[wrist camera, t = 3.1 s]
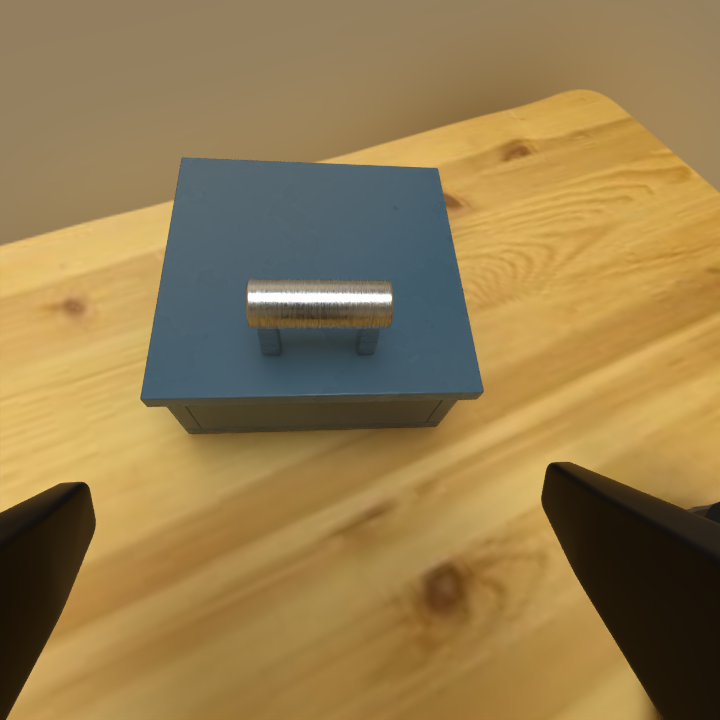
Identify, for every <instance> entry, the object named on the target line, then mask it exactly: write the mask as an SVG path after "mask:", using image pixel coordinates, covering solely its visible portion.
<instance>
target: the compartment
mask: <svg viewBox="0 0 720 720" xmlns="http://www.w3.org/2000/svg"><path fill="white" fill-rule="evenodd" d="M456 402H457V400H429V401H385V402H342V403H298V404H255V405H211V406H168V407H167V408H168V409H169V410H170V411H171V413H172V414H173V415H174V416H175V418H176V419H177V420H178V421H179V422H180V424H181V425H182V426H183V427H184V429H186V431H187V432H188V433H189V434H204V433H238V432H271V431H304V430H337V429H370V428H403V427H436V426H437V425H438V424H439V423H440V421H441V420H442V419H443V418H444V417H445V415H446V414H447V413H448V412H449V410H450V409H451V408H452V407H453V405H454V404H455V403H456Z"/></svg>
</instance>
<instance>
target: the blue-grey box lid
mask: <svg viewBox="0 0 720 720" xmlns="http://www.w3.org/2000/svg"><path fill="white" fill-rule="evenodd" d="M483 392H484V391H483V386H482V381H481V376H480V371H479V366H478V362H477V357H476V352H475V347H474V342H473V337H472V332H471V327H470V323H469V318H468V313H467V308H466V303H465V298H464V293H463V289H462V284H461V279H460V274H459V269H458V264H457V259H456V254H455V250H454V245H453V240H452V235H451V230H450V225H449V220H448V215H447V211H446V206H445V201H444V196H443V191H442V186H441V181H440V177H439V172H438V168H421V167H397V166H373V165H349V164H325V163H301V162H277V161H253V160H229V159H205V158H182V159H181V165H180V170H179V176H178V182H177V188H176V194H175V200H174V205H173V211H172V217H171V223H170V229H169V235H168V240H167V246H166V252H165V258H164V264H163V270H162V275H161V281H160V287H159V293H158V299H157V304H156V310H155V316H154V322H153V328H152V334H151V339H150V345H149V351H148V357H147V363H146V369H145V374H144V380H143V386H142V392H141V398H140V399H141V401H142V402H143V403H144V404H145V405H146V406H147V407H168V406H211V405H255V404H298V403H342V402H385V401H429V400H472V399H478V398H479V397H480V396H481V394H482V393H483Z"/></svg>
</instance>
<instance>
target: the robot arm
mask: <svg viewBox="0 0 720 720" xmlns="http://www.w3.org/2000/svg"><path fill="white" fill-rule="evenodd" d="M541 501H542V506H543V509H544V511H545V513H546V515H547V517H548V520H549V522H550V524H551V526H552V528H553V530H554V532H555V534H556V536H557V538H558V540H559V542H560V544H561V547H562V549H563V551H564V553H565V555H566V557H567V559H568V561H569V563H570V565H571V567H572V569H573V571H574V573H575V575H576V577H577V578H578V580H579V582H580V584H581V585H582V587H583V589H584V590H585V592H586V594H587V595H588V597H589V599H590V600H591V602H592V604H593V605H594V607H595V608H596V610H597V612H598V613H599V615H600V617H601V618H602V620H603V622H604V623H605V625H606V627H607V628H608V630H609V632H610V633H611V635H612V637H613V638H614V640H615V641H616V643H617V645H618V646H619V648H620V650H621V651H622V653H623V655H624V656H625V658H626V660H627V661H628V663H629V665H630V666H631V668H632V670H633V671H634V673H635V674H636V676H637V678H638V679H639V681H640V683H641V684H642V686H643V688H644V689H645V691H646V693H647V694H648V696H649V698H650V699H651V701H652V703H653V704H654V706H655V707H656V709H657V711H658V712H659V714H660V716H661V717H662V719H663V720H720V524H719V523H717V522H714V521H712V520H709V519H707V518H705V517H702V516H700V515H697V514H695V513H692V512H690V511H687V510H685V509H683V508H680V507H678V506H675V505H673V504H670V503H668V502H666V501H663V500H661V499H658V498H656V497H653V496H651V495H649V494H646V493H644V492H641V491H639V490H636V489H634V488H632V487H629V486H627V485H624V484H622V483H619V482H617V481H615V480H612V479H610V478H607V477H605V476H602V475H600V474H598V473H595V472H593V471H590V470H588V469H585V468H583V467H581V466H578V465H576V464H573V463H571V462H554V463H551V464H549V465H548V467H547V469H546V474H545V480H544V485H543V490H542V497H541ZM95 526H96V519H95V513H94V508H93V503H92V498H91V493H90V489H89V486H88V485H87V484H86V483H84V482H69V483H60V484H58V485H56V486H54V487H52V488H50V489H48V490H46V491H44V492H42V493H40V494H38V495H36V496H34V497H32V498H30V499H28V500H26V501H24V502H21V503H19V504H17V505H15V506H13V507H11V508H9V509H7V510H5V511H3V512H1V513H0V720H6V719H7V717H8V715H9V713H10V711H11V709H12V707H13V705H14V703H15V702H16V700H17V698H18V696H19V694H20V692H21V690H22V688H23V686H24V684H25V682H26V681H27V679H28V677H29V675H30V673H31V671H32V669H33V667H34V665H35V663H36V662H37V660H38V658H39V656H40V654H41V652H42V650H43V648H44V646H45V644H46V642H47V641H48V639H49V637H50V635H51V633H52V631H53V629H54V627H55V625H56V623H57V621H58V619H59V617H60V615H61V613H62V611H63V608H64V606H65V604H66V602H67V599H68V597H69V594H70V592H71V589H72V587H73V584H74V582H75V579H76V577H77V574H78V572H79V569H80V567H81V564H82V562H83V559H84V557H85V554H86V552H87V549H88V547H89V544H90V542H91V539H92V537H93V534H94V531H95Z"/></svg>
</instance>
